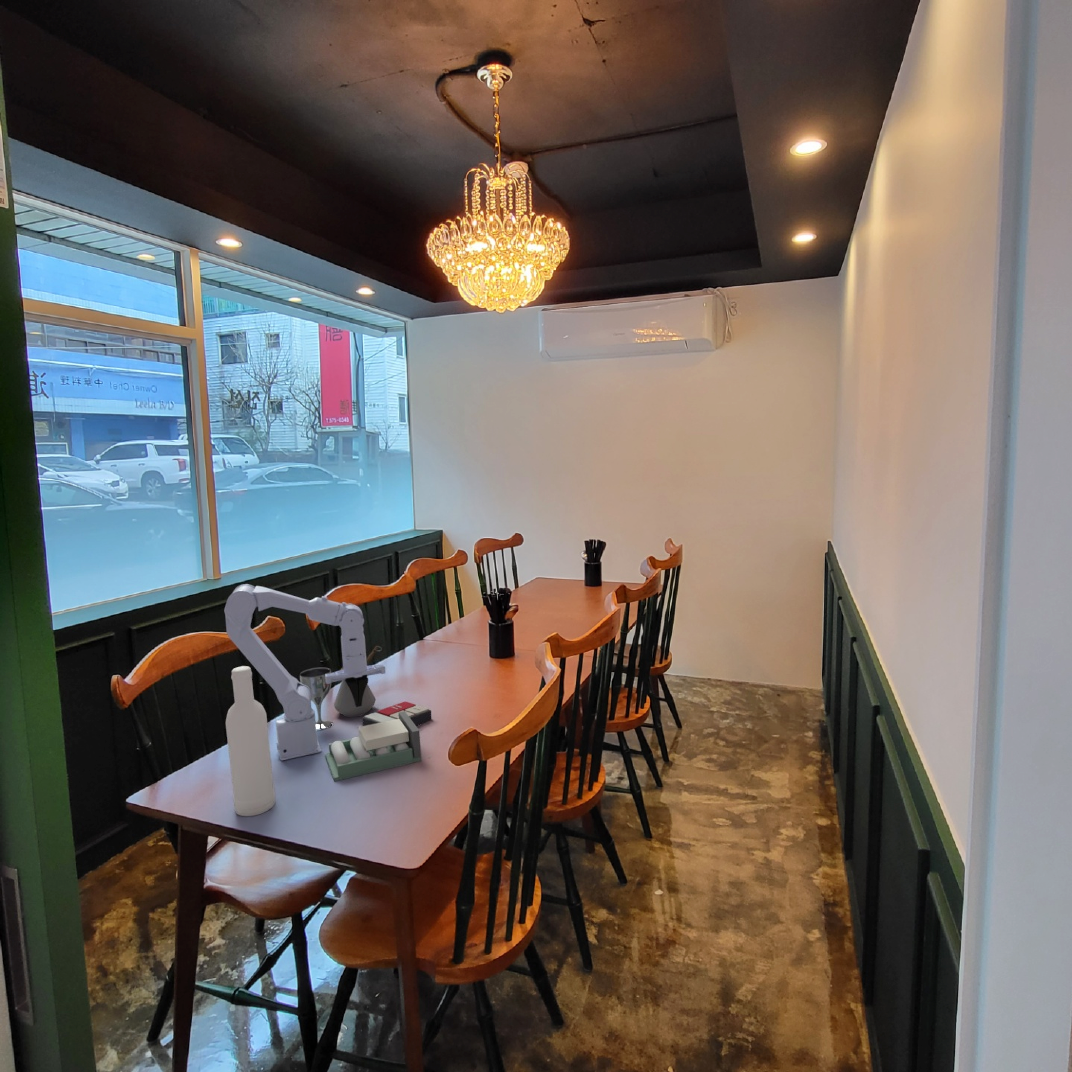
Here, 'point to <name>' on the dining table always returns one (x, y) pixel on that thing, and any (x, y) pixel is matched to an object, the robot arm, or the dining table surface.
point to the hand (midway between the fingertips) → (358, 705)
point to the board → (383, 734)
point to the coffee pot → (346, 700)
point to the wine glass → (317, 690)
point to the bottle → (249, 748)
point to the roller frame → (373, 754)
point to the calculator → (392, 713)
